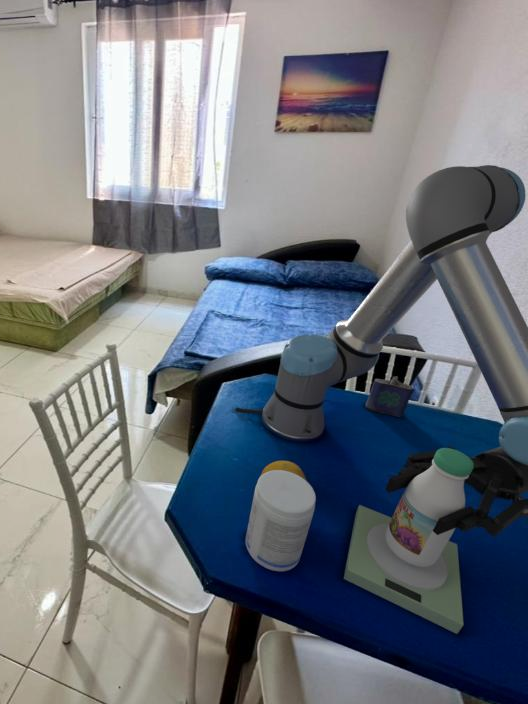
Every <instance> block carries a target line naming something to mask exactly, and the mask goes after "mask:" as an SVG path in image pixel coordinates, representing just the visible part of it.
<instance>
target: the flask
mask: <svg viewBox="0 0 528 704" xmlns="http://www.w3.org/2000/svg"><path fill="white" fill-rule="evenodd" d="M391 378H392V379H390V380H388V379H382V378H375V379H374V381H373V383H372V386H371V389H370V391H369V394H368V398H367V399H366V403H365V409H368V410H370V411H373V412H378V413H382V414H387V415H391V416H395V417H397V418H401V417H403V415H404V414H405V411H406V408H407V407H408V403H409V401H410V399H411V397H412V394H413V392H414V388H413V386H412V385H409V384H407V383H405V382H404V383H402V382H401V381H400V380H398V379H399V377H398V376H396V375H393V376H392V377H391Z"/></svg>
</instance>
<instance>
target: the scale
mask: <svg viewBox="0 0 528 704" xmlns="http://www.w3.org/2000/svg"><path fill="white" fill-rule="evenodd" d="M391 519H392V517H390V516H388V515H386V514H383V513H381V512H378V511H376V510H373V509H371V508H369V507H366V506H364V505H361V504H359V505H358V507H357V510H356V512H355V517H354V521H353V527H352V533H351V537H350V543H349V547H348V548H349V549H348V553H347V558H346V564H345V569H344V575H343V580H345V581H347V582H349V583H352V584H353V585H356V586H358V587H360V588H362V589H364V590H365V591H368V592H369V593H372V594H373V595H376V596H378V597H379V598H382V599H384V600H386V601H388V602H390V603H392V604H394V605H397V606H399V607H401V608H403V609H404V610H407V611H409V612H411V613H413V614H415V615H417V616H419V617H421V618H423V619H425V620H427V621H429V622H431V623H433V624H436V625H438V626H440V627H442V628H444V629H446V630H448V631H450V632H451V633H453V634H456V635H458V634H459V632H460V631H461V630H462V628H463V627H464V624H465V623H464V613H463V599H462V587H461V576H460V575H461V573H460V560H459V550H458V544H457V543H455V542H452V541H451V540H449V541H448V543H447V544H446V546H445V548H444V550H443V551H442V553H441V555H440V556H439V558H438V560H437V561H436V562H435V563H434V564H433V565H431V566H427V567H420V566H415V565H412V564H409V563H407V562H405V561H404V560H402V559H400V558H399V557H398V556H397V555H396V554H395V553H393V552H392V550H391V549H390V548H389V546H388V544H387V542H386V537H385V533H386V530H387V528H388V526H389V523H390V521H391Z"/></svg>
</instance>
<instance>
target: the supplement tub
mask: <svg viewBox="0 0 528 704" xmlns="http://www.w3.org/2000/svg"><path fill="white" fill-rule="evenodd" d="M316 501H317V496H316V492H315V490H314V488H313V486H312V485H311V484H310V483H309V482H308V481H307V479H306V480H304V479H303V478H301V477H300V476H298V475H296V474H294V473H291V472H288V471H283V470H273V471H268V472H266V473H264V474H263V475H261V474H260V476H259V478H258V480H257V483H256V485H255V488H254V493H253V498H252V504H251V509H250V514H249V519H248V525H247V530H246V534H245V535H246V536H245V546H246V549H247V551H248V553H249V555H250V557H251V558H252V559H253V560H254V561H255V562H256V564H259V565H260V566H262V567H264V568H265V569H267V570H269V571H273V572H287V571H290V570H292V569H294V568H295V567H296V566H297V565H298V564H299V562H300V560H301V557H302V553H303V550H304V547H305V543H306V540H307V536H308V533H309V530H310V527H311V523H312V520H313V517H314V512H315V508H316Z"/></svg>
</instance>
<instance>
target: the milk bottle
mask: <svg viewBox="0 0 528 704" xmlns="http://www.w3.org/2000/svg"><path fill="white" fill-rule="evenodd" d="M436 451H437V452H436V453H435V456H434V459H433V460H432V466H431V467H430V468H429V469H427V470H426V471H425V472H423V473H421V474H419V475H418V476H416V477H415V478H414V479H413V480H412V481H411V482H410V483H409V485H408V486H407V487H405V489H404V492H403V493H402V496H401V498H400V499H399V501H398V504H397V506H396V508H395V510H394V513H393V514H392V517H391V518H392V519H391V521H390V523H389V526H388V528H387V530H386V533H385V537H386V542H387V544H388V546H389V548H390V549H391V550H392V552H393V553H395V554H396V555H397V556H398V557H399V558H400V559H402V560H404V561H405V562H407V563H409V564H412V565H415V566H420V567H427V566H431V565H433V564H434V563H435V562H436V561H437V560H438V558H439V556H440V555H441V553H442V551H443V550H444V548H445V546H446V544H447V543H448V541H450V539H451V538H452V535H453V534H454V532H455V530H456V528H454V529H451V530H449V531H447V532H444V533H442V534H439V535H437V534H435V533H434V532H433V529H434V527H435V525H436V523H437V522H438V520H439V518H441V517H444V516H446V515H449V514H451V513H454V512H457V511H459V510H462V509H464V508H466V494H465V487H464V486H465V483H464V480H465V479H467V478H468V477H469V474H470V473H471V472H472V470H473V467H474V464H473V462H472V460H471V459H470V458H469V457H470V456H468V455H466V454H465V453H463V452H461V451H459V450H457V449H456V450H454V449H450V448H447V447H441V448H439V449H437V450H436Z"/></svg>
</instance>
